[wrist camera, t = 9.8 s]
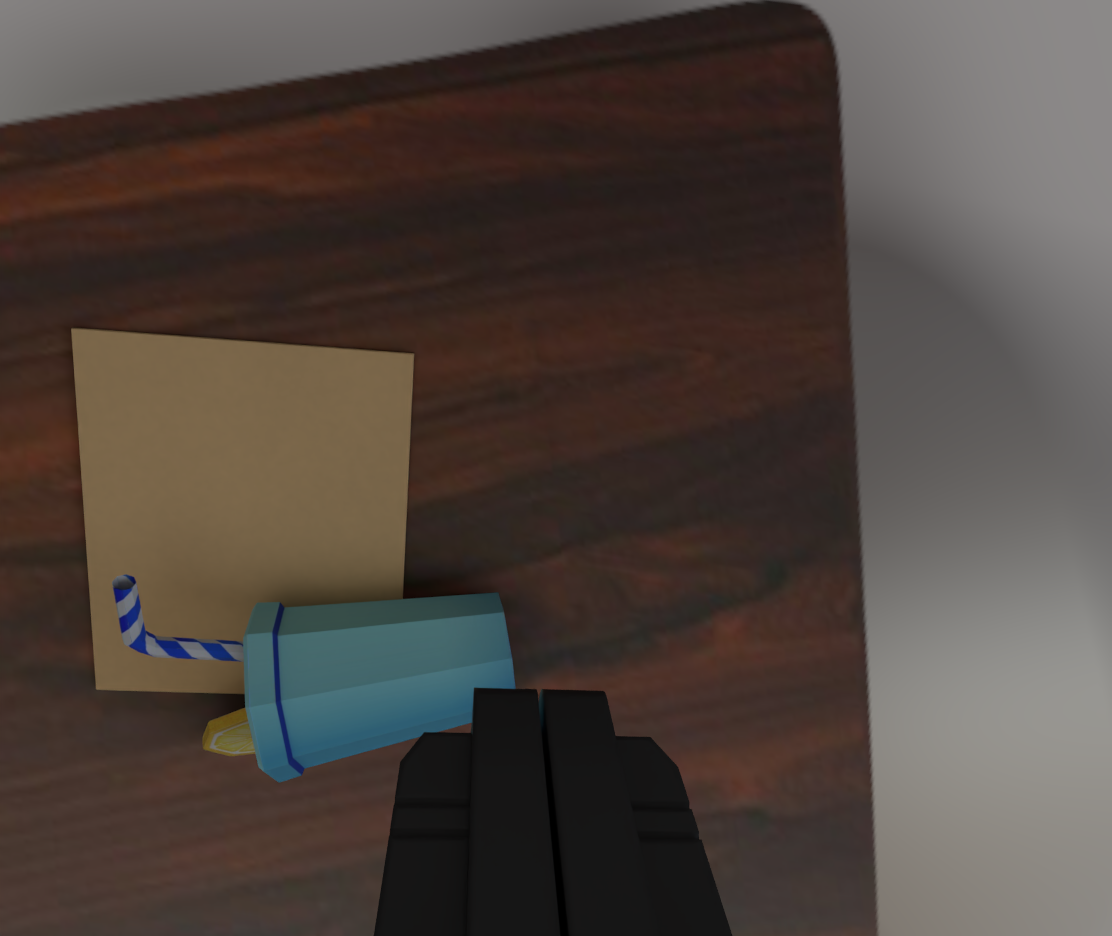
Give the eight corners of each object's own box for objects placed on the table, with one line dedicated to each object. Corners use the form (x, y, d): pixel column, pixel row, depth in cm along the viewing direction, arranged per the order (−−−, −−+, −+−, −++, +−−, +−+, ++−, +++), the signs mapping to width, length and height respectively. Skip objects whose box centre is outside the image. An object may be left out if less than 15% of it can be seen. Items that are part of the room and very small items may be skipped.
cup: (484, 463, 37) (113, 514, 35) (514, 597, 31) (71, 669, 29) (499, 666, 46) (205, 716, 44) (525, 799, 40) (188, 866, 38)
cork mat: (414, 353, 38) (413, 354, 37) (398, 695, 43) (397, 698, 42) (73, 327, 36) (70, 328, 36) (98, 686, 41) (95, 689, 41)
